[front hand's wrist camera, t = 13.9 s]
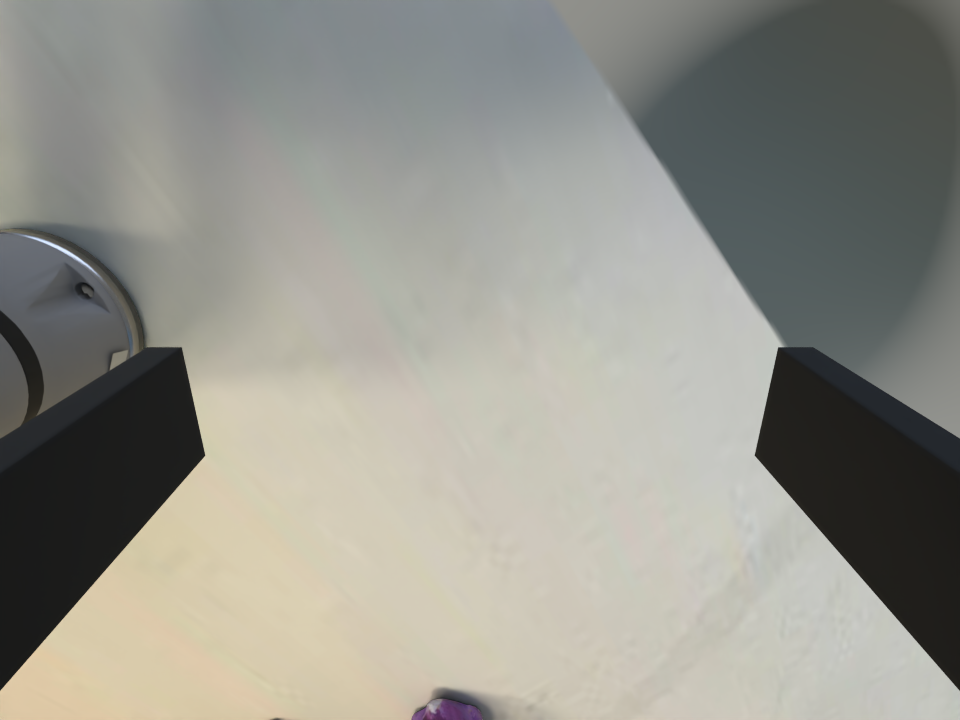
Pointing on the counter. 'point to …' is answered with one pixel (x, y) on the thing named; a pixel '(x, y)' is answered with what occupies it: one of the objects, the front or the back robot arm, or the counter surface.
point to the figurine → (447, 711)
